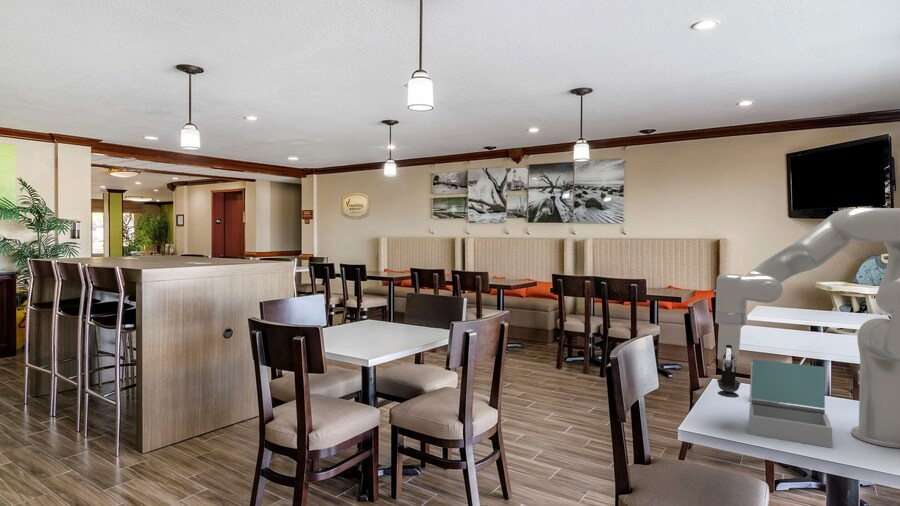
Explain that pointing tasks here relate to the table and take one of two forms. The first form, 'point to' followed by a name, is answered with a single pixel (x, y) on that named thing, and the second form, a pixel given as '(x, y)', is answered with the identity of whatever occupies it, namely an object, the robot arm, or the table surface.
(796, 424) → the hinged gray case
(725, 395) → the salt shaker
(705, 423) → the table surface
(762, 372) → the cover
